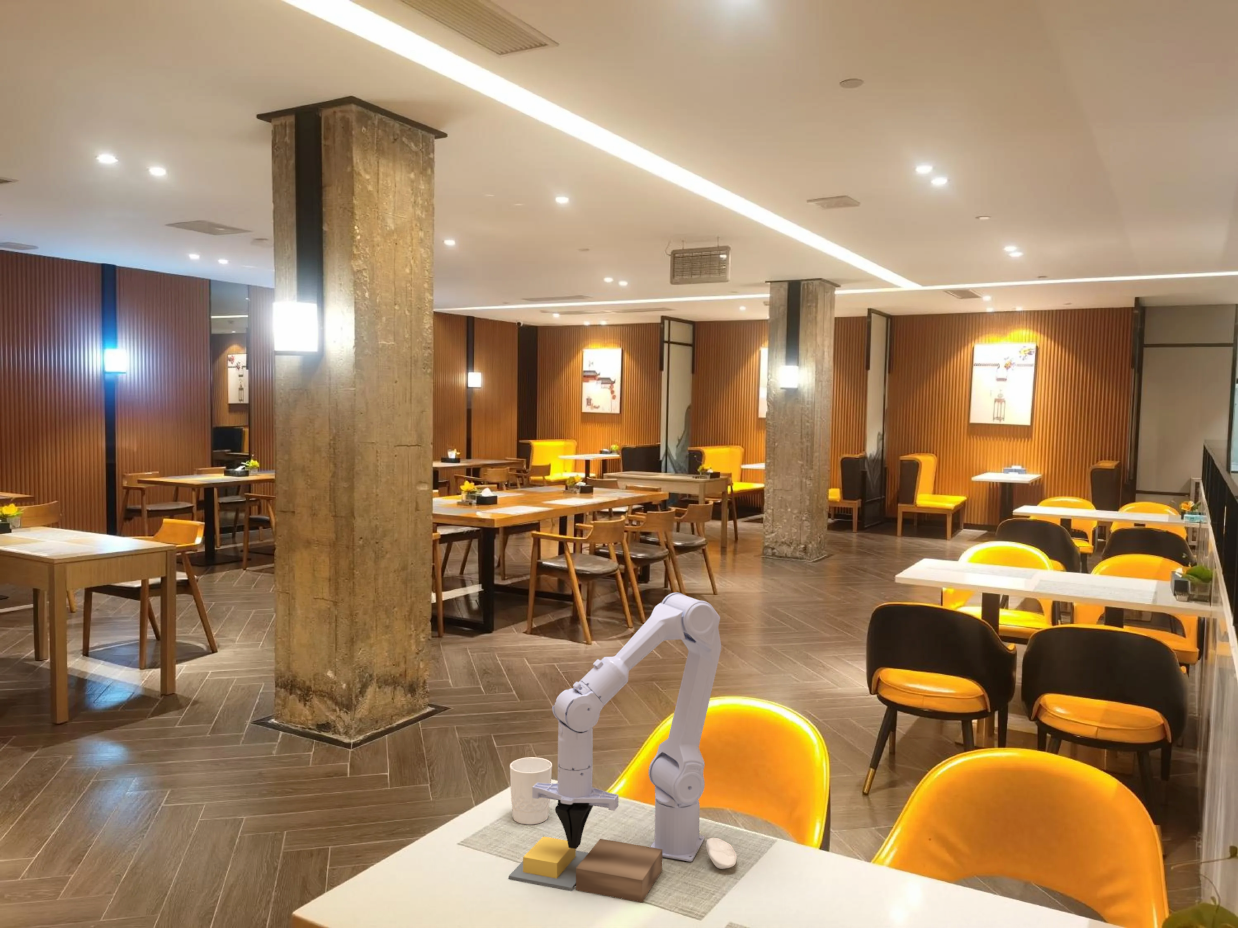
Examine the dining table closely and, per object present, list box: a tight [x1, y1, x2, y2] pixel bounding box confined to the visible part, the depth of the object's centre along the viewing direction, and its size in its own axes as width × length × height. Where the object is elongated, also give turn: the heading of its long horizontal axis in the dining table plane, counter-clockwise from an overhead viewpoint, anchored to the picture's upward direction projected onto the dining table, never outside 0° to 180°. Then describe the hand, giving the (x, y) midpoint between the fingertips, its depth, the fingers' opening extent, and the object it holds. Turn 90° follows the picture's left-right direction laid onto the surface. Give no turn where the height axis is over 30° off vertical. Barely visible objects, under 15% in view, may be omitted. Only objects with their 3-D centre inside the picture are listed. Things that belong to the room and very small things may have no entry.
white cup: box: [509, 756, 553, 825], centre depth 168 cm, size 8×8×10 cm
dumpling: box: [705, 837, 738, 870], centre depth 150 cm, size 7×5×4 cm
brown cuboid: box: [575, 838, 663, 903], centre depth 145 cm, size 11×11×4 cm
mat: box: [508, 849, 589, 892], centre depth 149 cm, size 12×11×1 cm
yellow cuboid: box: [522, 836, 577, 878], centre depth 149 cm, size 8×6×2 cm
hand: (574, 845), depth 147 cm, fingers closed
